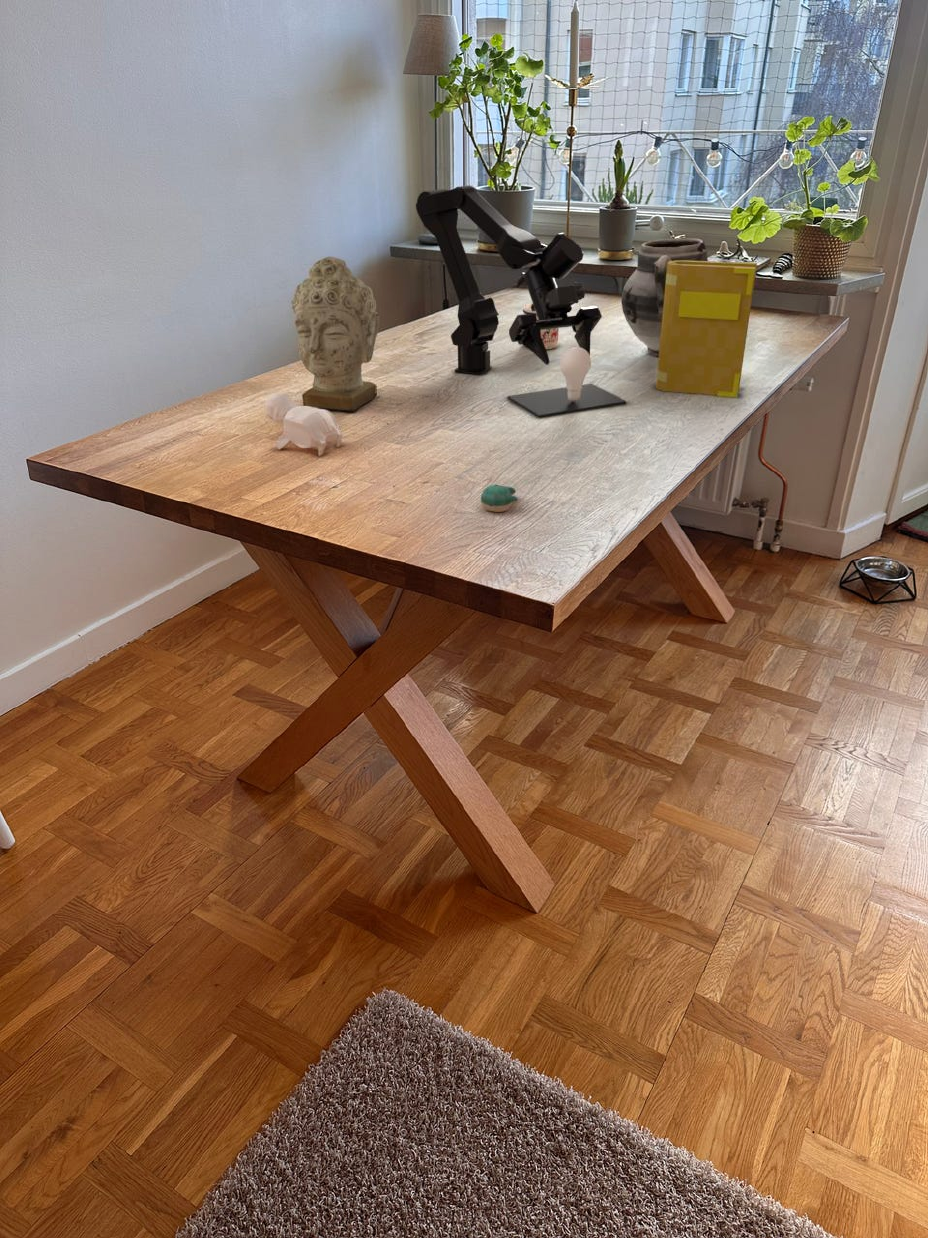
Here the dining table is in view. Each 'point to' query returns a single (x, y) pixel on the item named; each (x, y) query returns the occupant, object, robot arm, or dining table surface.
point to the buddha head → (335, 335)
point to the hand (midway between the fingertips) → (568, 360)
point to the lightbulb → (575, 370)
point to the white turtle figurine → (302, 424)
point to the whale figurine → (498, 498)
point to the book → (704, 326)
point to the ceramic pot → (654, 285)
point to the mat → (565, 401)
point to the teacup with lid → (545, 331)
